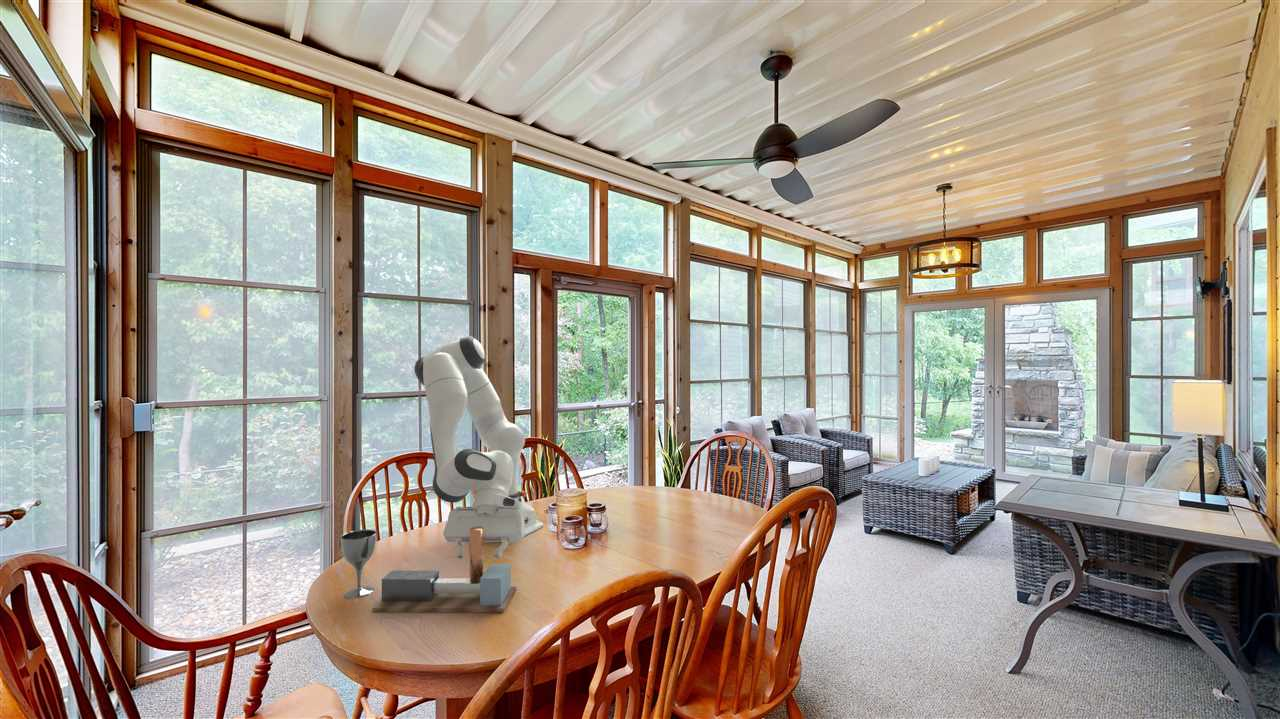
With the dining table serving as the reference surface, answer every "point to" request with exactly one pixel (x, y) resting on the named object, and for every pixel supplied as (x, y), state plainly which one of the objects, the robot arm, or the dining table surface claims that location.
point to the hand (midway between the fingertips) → (478, 557)
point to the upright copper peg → (475, 569)
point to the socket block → (495, 584)
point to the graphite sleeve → (408, 586)
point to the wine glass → (358, 557)
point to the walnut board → (444, 604)
